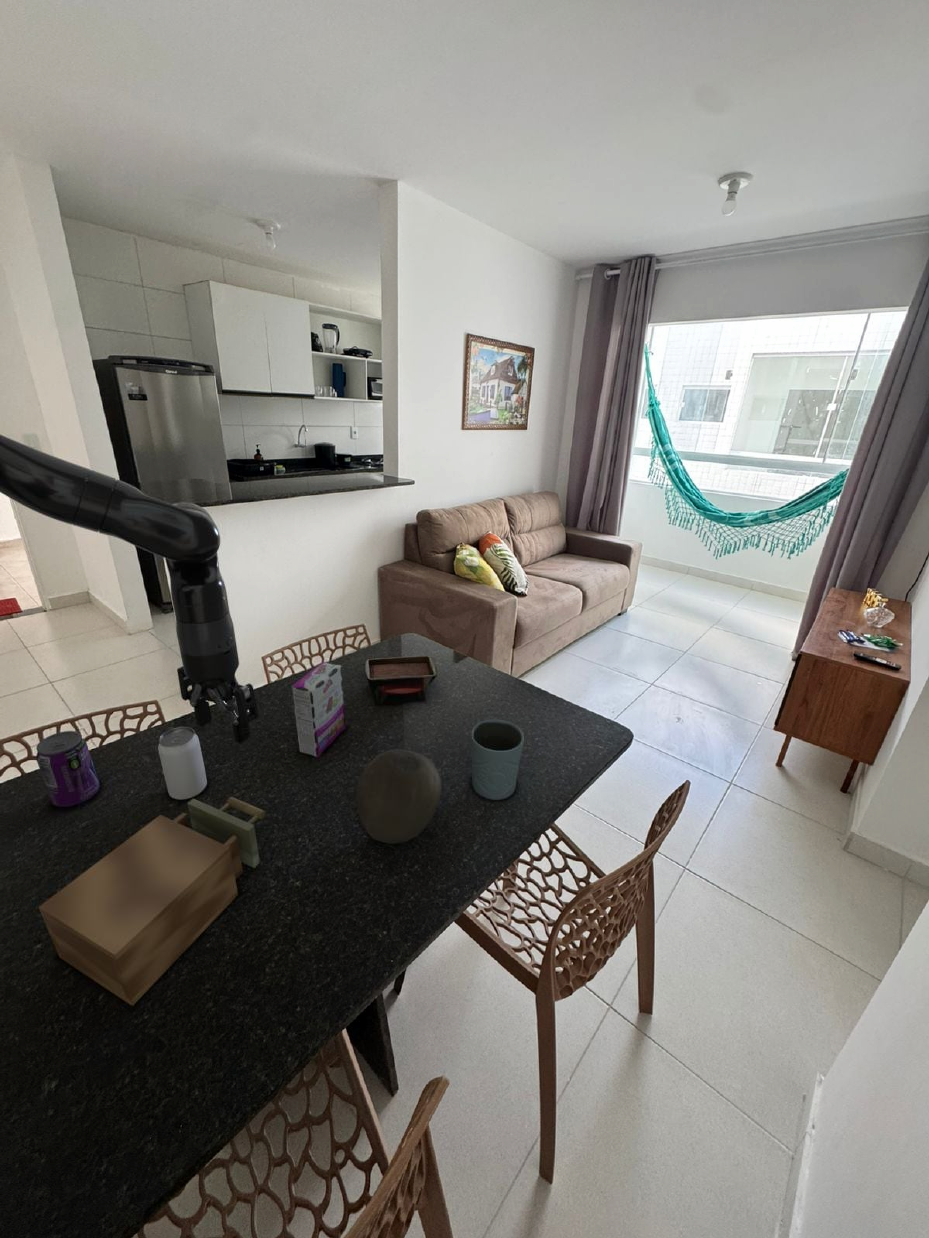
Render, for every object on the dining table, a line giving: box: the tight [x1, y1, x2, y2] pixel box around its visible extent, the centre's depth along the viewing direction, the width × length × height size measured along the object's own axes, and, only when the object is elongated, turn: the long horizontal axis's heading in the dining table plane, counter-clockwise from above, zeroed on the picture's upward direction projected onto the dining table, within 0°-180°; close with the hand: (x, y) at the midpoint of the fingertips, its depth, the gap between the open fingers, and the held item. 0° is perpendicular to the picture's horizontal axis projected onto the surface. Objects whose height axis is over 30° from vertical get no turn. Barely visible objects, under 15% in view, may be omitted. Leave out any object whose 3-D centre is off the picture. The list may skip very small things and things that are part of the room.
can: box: [157, 726, 208, 801], centre depth 93 cm, size 6×6×12 cm
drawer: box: [172, 796, 266, 881], centre depth 77 cm, size 20×13×8 cm, turn 157°
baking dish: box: [363, 654, 438, 706], centre depth 129 cm, size 14×18×10 cm
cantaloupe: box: [355, 748, 443, 845], centre depth 87 cm, size 14×14×15 cm
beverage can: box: [35, 730, 100, 808], centre depth 90 cm, size 7×7×12 cm
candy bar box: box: [291, 661, 347, 758], centre depth 108 cm, size 11×5×16 cm, turn 161°
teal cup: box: [470, 719, 525, 801], centre depth 99 cm, size 10×10×12 cm
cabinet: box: [38, 814, 239, 1007], centre depth 70 cm, size 17×14×10 cm
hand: (223, 731), depth 82 cm, fingers open, 8 cm apart
